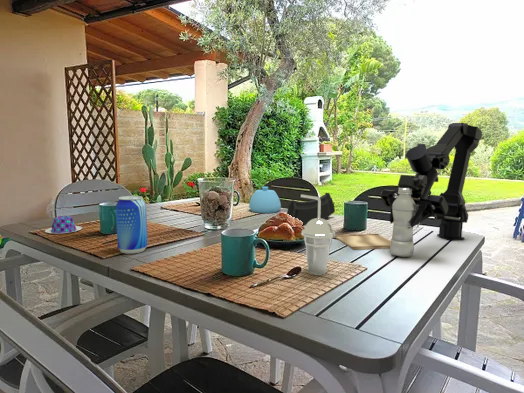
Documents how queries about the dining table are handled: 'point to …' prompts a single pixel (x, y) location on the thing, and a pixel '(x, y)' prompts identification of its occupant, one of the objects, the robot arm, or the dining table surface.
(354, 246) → the mat
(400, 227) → the plastic bottle
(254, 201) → the sugar bowl
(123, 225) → the beer can
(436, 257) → the dining table surface
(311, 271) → the cup with straw
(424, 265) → the dining table surface
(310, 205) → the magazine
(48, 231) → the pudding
